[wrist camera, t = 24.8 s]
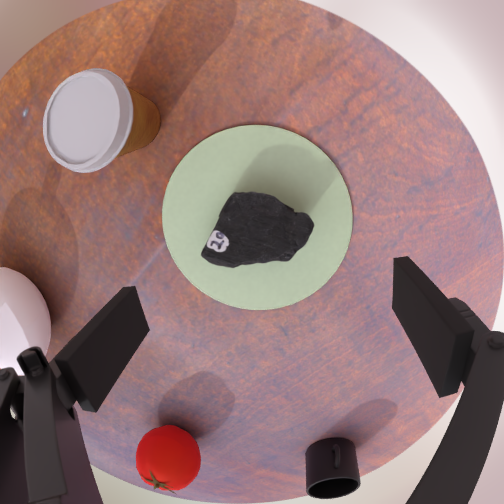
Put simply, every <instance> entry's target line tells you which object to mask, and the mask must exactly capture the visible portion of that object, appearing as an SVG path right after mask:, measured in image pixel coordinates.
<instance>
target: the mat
mask: <svg viewBox="0 0 504 504" xmlns="http://www.w3.org/2000/svg"><path fill="white" fill-rule="evenodd" d="M251 191H253V192H257V193H265V194H269V195H272V196H275V197H276V198H277V199H278V200H279V201H281V202H282V203H284V204H286V205H288V206H289V207H291V208H293V209H294V212H304V213H307V214H308V215H309V216H310V218H311V219H312V221H313V222H314V228H313V231H312V233H311V235H310V237H309V239H308V241H307V243H306V244H305V246H304V247H303V248H301V249H300V250H298V251H297V252H296V254H295V255H294V256H293V257H292V259H291V260H289V261H287V262H281V261H271V262H267V263H263V264H262V263H255V264H251V265H240V266H238V267H235V268H230V267H224V266H217V265H214V264H211V263H209V262H208V261H207V260H205V259H204V258H203V257H202V256H201V252H202V250H203V248H204V246H205V244H206V242H207V241H208V239H209V237H210V235H211V233H212V231H213V229H214V227H215V225H216V223H217V221H218V219H219V214H220V212H221V210H222V208H223V206H224V204H225V203H226V201H227V199H228V198H229V197H230V196H231V195H232V194H233V193H234V192H239V193H240V192H246V193H247V192H251ZM162 224H163V231H164V236H165V240H166V243H167V247H168V249H169V251H170V254H171V256H172V258H173V260H174V261H175V263H176V265H177V266H178V268H179V269H180V271H181V272H182V273H183V274H184V276H185V277H186V278H187V279H188V280H189V281H190V282H191V283H192V284H193V285H194V286H195V287H197V288H198V289H199V290H200V291H202V292H203V293H205V294H206V295H208V296H209V297H211V298H213V299H215V300H217V301H219V302H221V303H224V304H227V305H230V306H233V307H237V308H242V309H250V310H269V309H276V308H281V307H285V306H288V305H291V304H294V303H296V302H299V301H301V300H303V299H305V298H306V297H308V296H310V295H312V294H313V293H314V292H316V291H317V290H318V289H320V288H321V287H322V286H323V285H324V284H325V283H326V282H327V281H328V280H329V279H330V278H331V277H332V275H333V274H334V273H335V272H336V270H337V269H338V267H339V266H340V264H341V262H342V261H343V258H344V256H345V254H346V251H347V249H348V246H349V242H350V238H351V232H352V206H351V200H350V196H349V193H348V189H347V187H346V184H345V182H344V180H343V177H342V176H341V174H340V172H339V171H338V169H337V167H336V166H335V165H334V163H333V162H332V161H331V160H330V158H329V157H328V156H327V155H326V154H325V153H324V152H323V151H322V150H321V149H319V148H318V147H317V146H316V145H315V144H313V143H312V142H310V141H309V140H307V139H306V138H304V137H302V136H300V135H298V134H296V133H294V132H291V131H288V130H285V129H282V128H278V127H273V126H267V125H246V126H238V127H234V128H229V129H226V130H223V131H221V132H218V133H216V134H214V135H212V136H210V137H208V138H206V139H205V140H203V141H202V142H200V143H199V144H198V145H196V146H195V147H194V148H193V149H192V150H191V151H190V152H189V153H188V154H187V155H186V156H185V157H184V158H183V159H182V160H181V162H180V163H179V164H178V166H177V167H176V169H175V171H174V172H173V174H172V176H171V178H170V180H169V183H168V186H167V188H166V192H165V196H164V200H163V209H162Z"/></svg>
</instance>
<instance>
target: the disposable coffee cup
mask: <svg viewBox="0 0 504 504" xmlns="http://www.w3.org/2000/svg"><path fill="white" fill-rule="evenodd" d="M159 127H160V113H159V110H158V108H157V107H156V105H155V104H154V103H153V102H152V101H150V100H149V99H147V98H145V97H144V96H142V95H141V94H139V93H138V92H136V91H134V90H133V89H131V88H130V87H128V86H126V85H125V84H124V82H123V80H122V79H121V78H119V77H118V76H117V75H116V74H114V73H113V72H111V71H108V70H106V69H99V68H93V69H87V70H84V71H82V72H79V73H77V74H75V75H72V76H70V77H68V78H67V79H66V80H65V81H64V82H62V83H61V84H60V85H59V86H58V87H57V89H56V90H55V91H54V93H53V94H52V96H51V98H50V100H49V102H48V104H47V107H46V111H45V114H44V120H43V135H44V140H45V144H46V147H47V149H48V151H49V153H50V154H51V156H52V157H53V158H54V159H55V160H56V161H57V162H58V163H59V164H61V165H62V166H64V167H66V168H68V169H70V170H72V171H75V172H80V173H87V172H93V171H96V170H99V169H101V168H103V167H105V166H106V165H107V164H109V163H110V162H111V161H112V160H113V159H115V158H117V157H119V156H122V155H124V154H127V153H129V152H132V151H134V150H137V149H140V148H142V147H145V146H147V145H148V144H149V143H151V142H152V141H153V140H154V138H155V137H156V135H157V133H158V131H159Z"/></svg>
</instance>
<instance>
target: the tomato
mask: <svg viewBox="0 0 504 504" xmlns="http://www.w3.org/2000/svg"><path fill="white" fill-rule="evenodd" d="M200 464H201V456H200V451H199V447H198V444H197V442H196V441H195V440H194V438H193V437H192V436H191V435H190V434H189V433H188V432H187V431H185V430H183V429H181V428H179V427H177V426H174V425H165V426H162V427H158V428H155V429H153V430H151V431H149V432H148V433H146V434H145V435H144V436H143V438H142V439H141V441H140V443H139V444H138V448H137V452H136V467H137V470H138V472H139V474H140V476H141V478H142V480H143V481H144V482H145V483H147V484H149V485H152V486H154V489H156V488H159V489H161V490H169V491H171V490H180V489H182V488H185V487H186V486H187V485H189V484H190V483H191V482H192V481H193V480H194V479H195V477H196V476H197V474H198V472H199V469H200ZM171 492H173V491H171ZM173 493H174V492H173ZM175 494H176V493H175Z"/></svg>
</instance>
